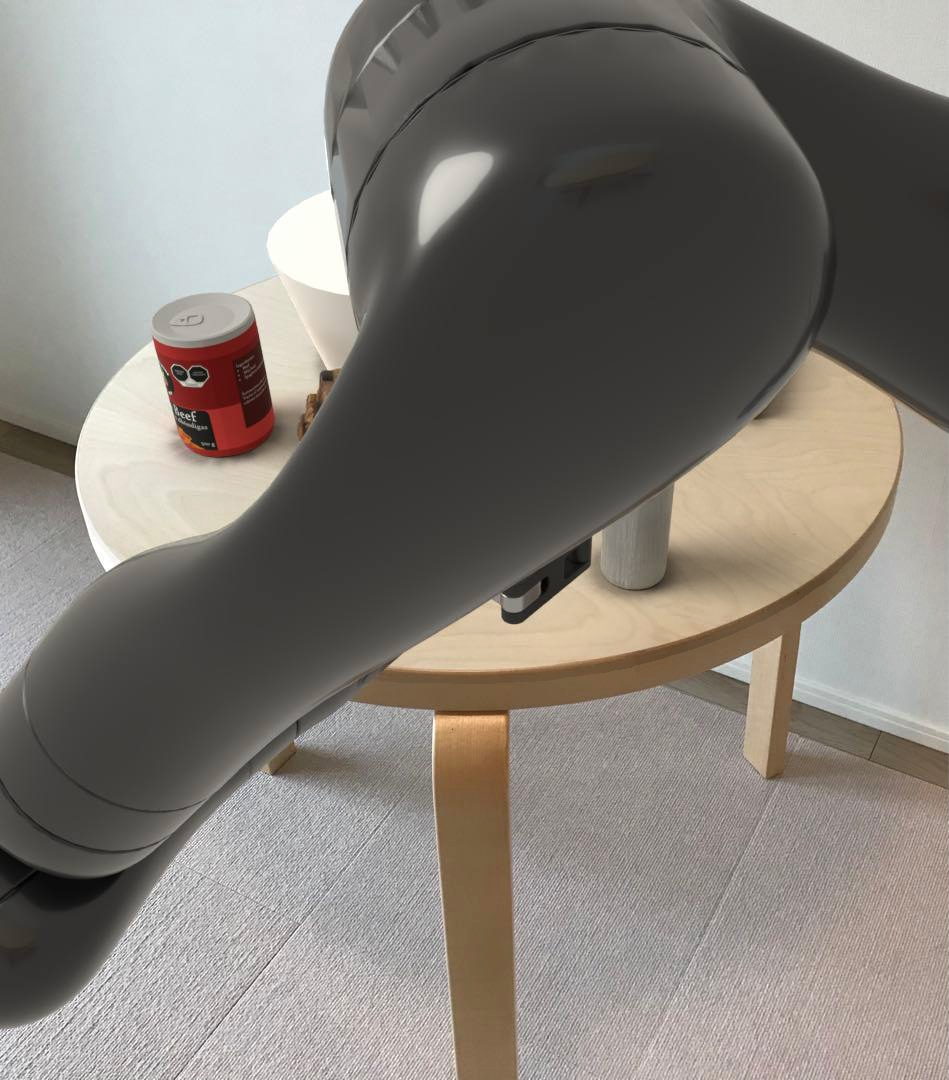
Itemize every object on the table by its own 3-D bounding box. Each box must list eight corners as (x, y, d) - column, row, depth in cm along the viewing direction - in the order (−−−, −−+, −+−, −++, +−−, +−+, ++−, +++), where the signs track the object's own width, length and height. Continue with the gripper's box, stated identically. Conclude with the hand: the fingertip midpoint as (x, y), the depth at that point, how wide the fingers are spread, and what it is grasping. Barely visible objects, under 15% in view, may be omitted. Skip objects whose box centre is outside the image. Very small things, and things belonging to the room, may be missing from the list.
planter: (653, 598, 72) (664, 477, 66) (590, 580, 74) (595, 460, 67) (674, 557, 75) (686, 437, 69) (613, 540, 77) (619, 422, 70)
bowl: (590, 315, 102) (593, 192, 94) (486, 454, 86) (479, 320, 78) (369, 275, 110) (356, 160, 102) (237, 395, 94) (208, 269, 86)
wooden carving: (293, 448, 87) (273, 341, 81) (348, 437, 88) (333, 330, 82) (329, 578, 75) (309, 464, 69) (393, 564, 76) (378, 450, 70)
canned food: (170, 424, 91) (138, 307, 84) (259, 397, 94) (235, 282, 86) (195, 470, 86) (163, 351, 79) (289, 441, 88) (266, 322, 81)
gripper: (431, 626, 42) (652, 434, 51) (198, 493, 49) (429, 345, 59) (442, 747, 47) (642, 551, 56) (228, 610, 54) (438, 456, 63)
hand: (533, 446), depth 57 cm, fingers open, 8 cm apart
